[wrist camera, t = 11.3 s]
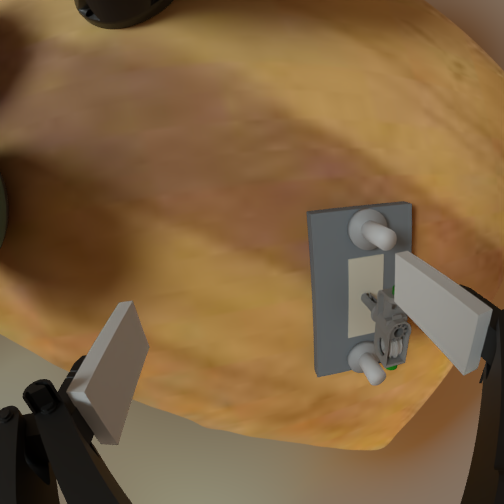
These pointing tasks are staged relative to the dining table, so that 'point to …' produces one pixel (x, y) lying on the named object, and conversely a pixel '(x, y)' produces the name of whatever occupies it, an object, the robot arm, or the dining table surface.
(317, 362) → the gear board
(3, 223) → the planter
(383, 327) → the mechanical component
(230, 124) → the dining table surface
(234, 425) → the dining table surface
